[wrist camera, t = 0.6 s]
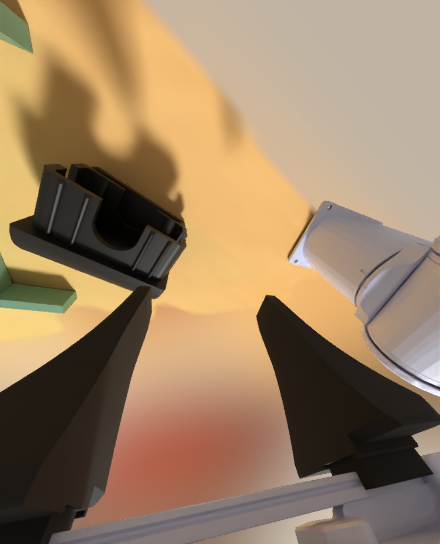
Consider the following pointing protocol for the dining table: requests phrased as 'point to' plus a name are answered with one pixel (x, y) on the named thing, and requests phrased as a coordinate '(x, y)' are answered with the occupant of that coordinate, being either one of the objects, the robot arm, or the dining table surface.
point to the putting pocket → (3, 291)
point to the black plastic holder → (101, 229)
